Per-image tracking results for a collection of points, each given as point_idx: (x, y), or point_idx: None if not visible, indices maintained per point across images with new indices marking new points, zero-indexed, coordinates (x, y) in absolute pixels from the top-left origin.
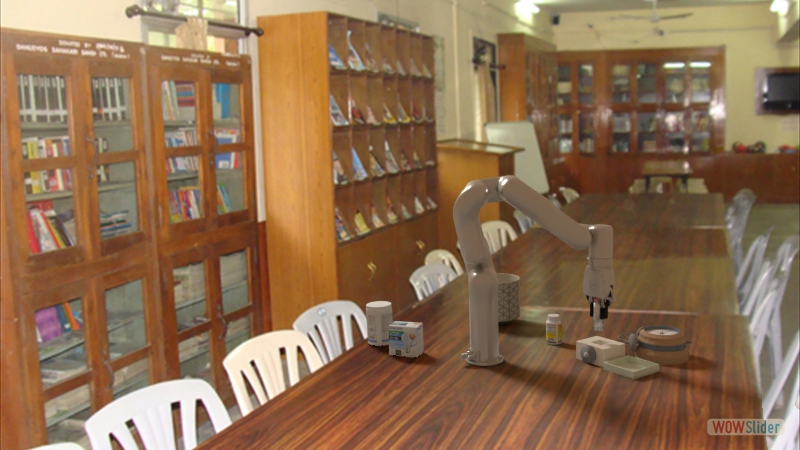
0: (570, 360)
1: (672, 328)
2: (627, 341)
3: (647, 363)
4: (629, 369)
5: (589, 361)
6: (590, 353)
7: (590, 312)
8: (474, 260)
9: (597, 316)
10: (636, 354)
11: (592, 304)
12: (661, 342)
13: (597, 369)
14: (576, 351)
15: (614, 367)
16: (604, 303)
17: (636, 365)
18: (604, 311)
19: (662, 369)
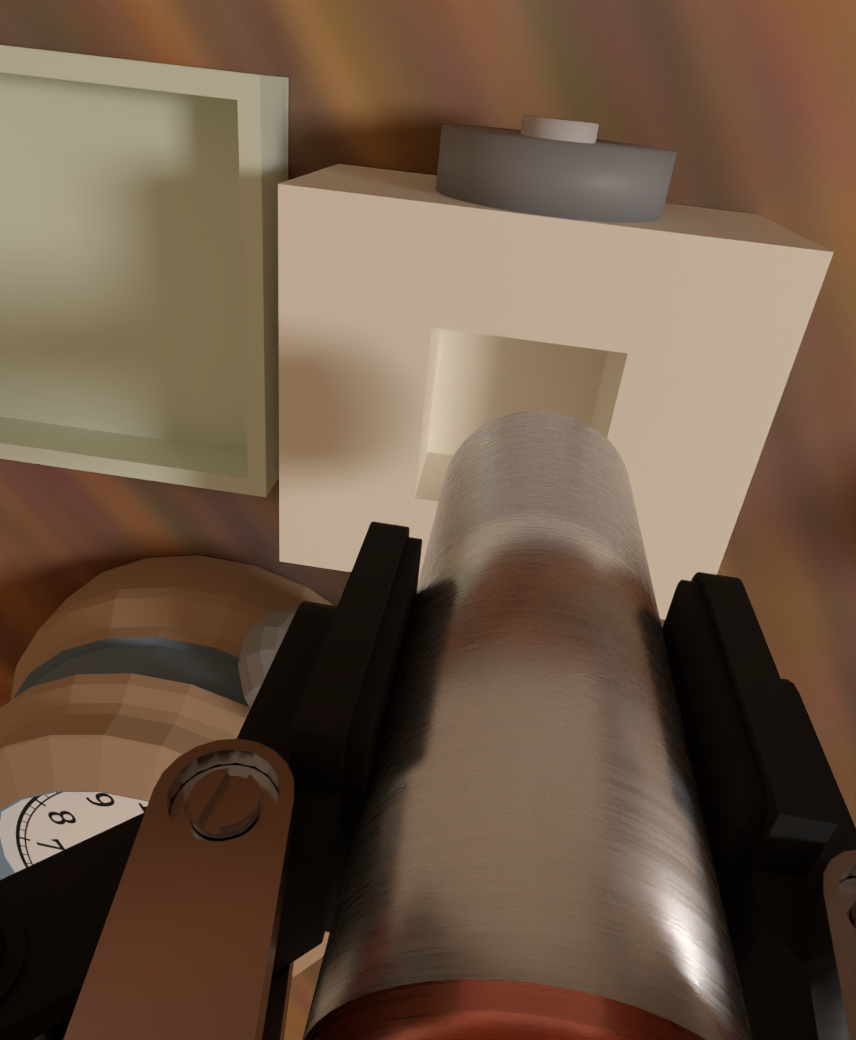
0: (786, 100)
1: None
2: None
3: (41, 439)
4: (95, 256)
5: (509, 129)
6: (489, 132)
7: (737, 633)
8: None
9: (483, 561)
10: None
11: (767, 877)
12: (20, 721)
13: (344, 46)
14: (777, 226)
15: (90, 55)
16: (117, 894)
17: (147, 404)
18: (265, 686)
19: (7, 488)
